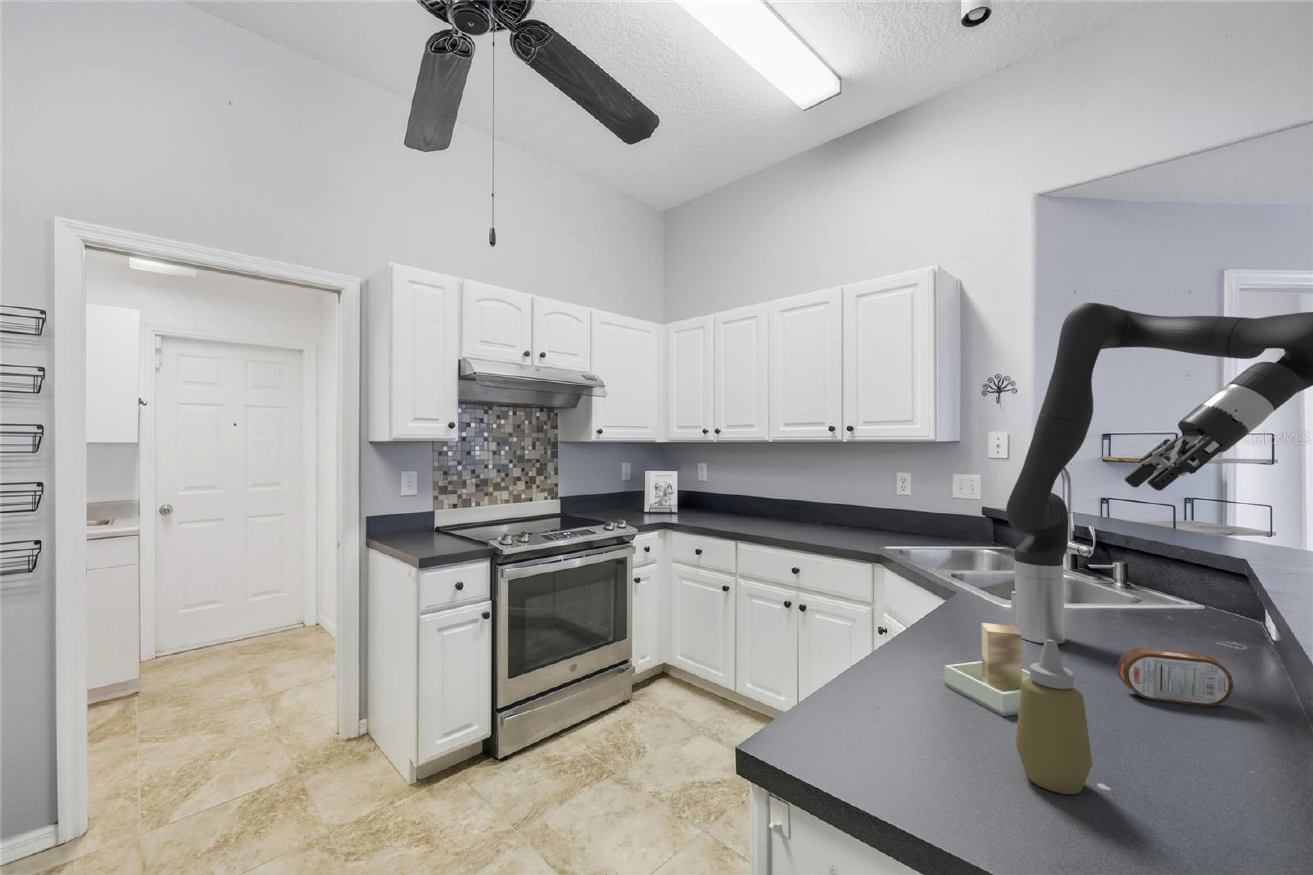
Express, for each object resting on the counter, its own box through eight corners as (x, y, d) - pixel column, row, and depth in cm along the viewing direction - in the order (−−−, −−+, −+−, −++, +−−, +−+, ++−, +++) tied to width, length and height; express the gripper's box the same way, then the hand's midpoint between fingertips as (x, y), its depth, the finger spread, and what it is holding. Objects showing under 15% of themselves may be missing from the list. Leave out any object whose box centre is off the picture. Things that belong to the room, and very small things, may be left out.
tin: (1225, 704, 93) (1224, 653, 93) (1237, 712, 90) (1236, 660, 90) (1116, 691, 98) (1115, 643, 98) (1125, 698, 95) (1124, 649, 95)
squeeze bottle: (1001, 765, 75) (999, 631, 75) (1057, 762, 75) (1054, 629, 76) (1048, 803, 67) (1046, 653, 67) (1110, 800, 67) (1107, 651, 68)
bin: (944, 684, 100) (944, 665, 100) (999, 677, 103) (999, 659, 104) (1003, 716, 88) (1002, 694, 88) (1063, 707, 91) (1063, 686, 92)
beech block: (988, 695, 94) (987, 631, 95) (982, 684, 99) (981, 622, 99) (1022, 700, 93) (1021, 634, 93) (1014, 688, 97) (1013, 625, 98)
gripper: (1180, 406, 100) (1104, 468, 103) (1230, 399, 86) (1140, 471, 90) (1219, 435, 98) (1140, 498, 101) (1276, 432, 84) (1182, 505, 88)
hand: (1140, 485), depth 96 cm, fingers open, 8 cm apart
